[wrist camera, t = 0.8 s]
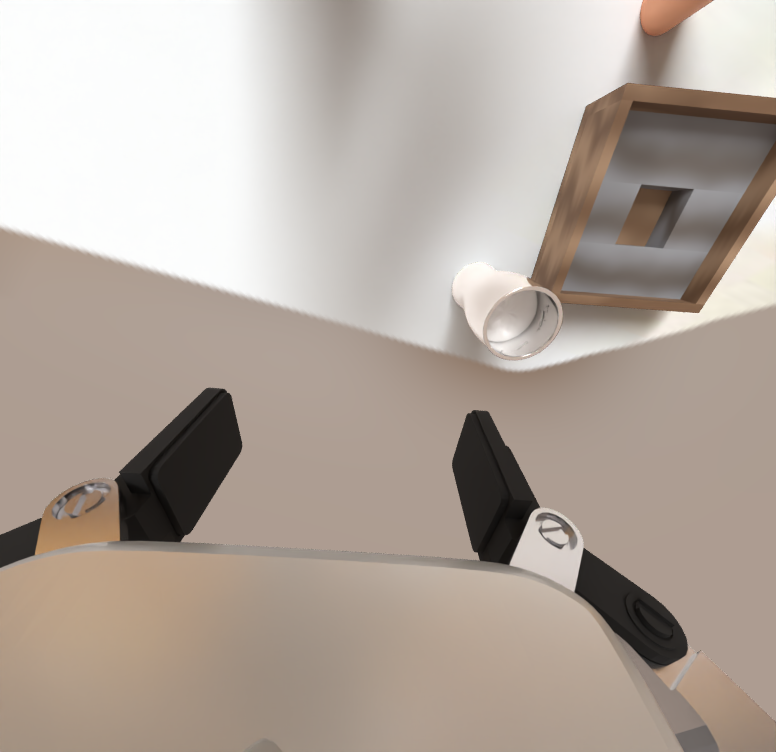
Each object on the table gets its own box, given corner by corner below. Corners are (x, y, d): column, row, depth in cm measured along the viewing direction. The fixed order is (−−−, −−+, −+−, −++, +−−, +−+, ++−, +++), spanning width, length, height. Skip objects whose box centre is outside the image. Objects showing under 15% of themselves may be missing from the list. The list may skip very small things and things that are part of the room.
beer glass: (499, 250, 34) (567, 272, 21) (503, 304, 37) (564, 352, 24) (444, 267, 35) (476, 297, 22) (452, 318, 38) (485, 370, 25)
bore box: (586, 106, 27) (627, 83, 23) (759, 123, 28) (835, 103, 23) (527, 290, 36) (548, 301, 32) (659, 300, 37) (698, 313, 32)
